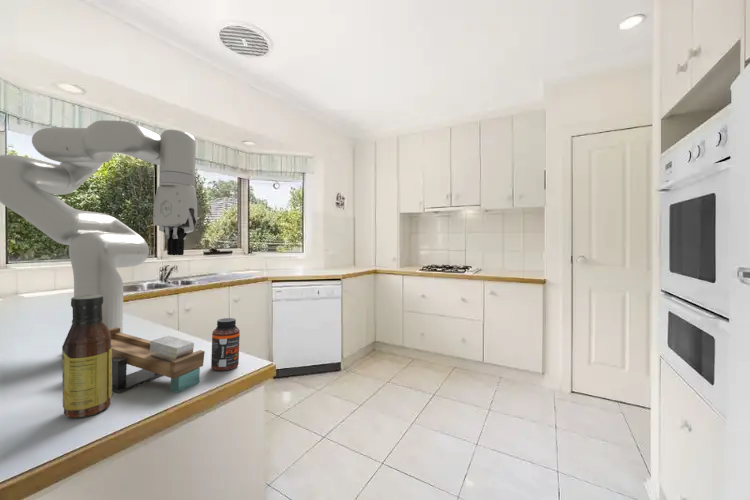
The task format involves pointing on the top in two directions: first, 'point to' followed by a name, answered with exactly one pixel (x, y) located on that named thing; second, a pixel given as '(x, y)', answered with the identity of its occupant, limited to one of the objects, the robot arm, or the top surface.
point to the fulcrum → (146, 377)
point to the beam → (139, 357)
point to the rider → (170, 348)
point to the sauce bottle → (87, 360)
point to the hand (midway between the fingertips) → (175, 254)
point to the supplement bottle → (225, 345)
